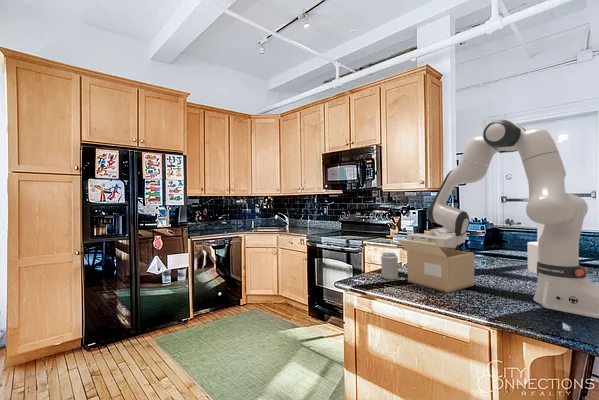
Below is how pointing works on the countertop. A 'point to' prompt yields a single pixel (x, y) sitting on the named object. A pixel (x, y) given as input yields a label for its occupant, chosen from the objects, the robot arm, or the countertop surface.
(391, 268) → the can
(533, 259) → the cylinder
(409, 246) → the flap
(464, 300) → the countertop surface
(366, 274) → the countertop surface
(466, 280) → the carton
